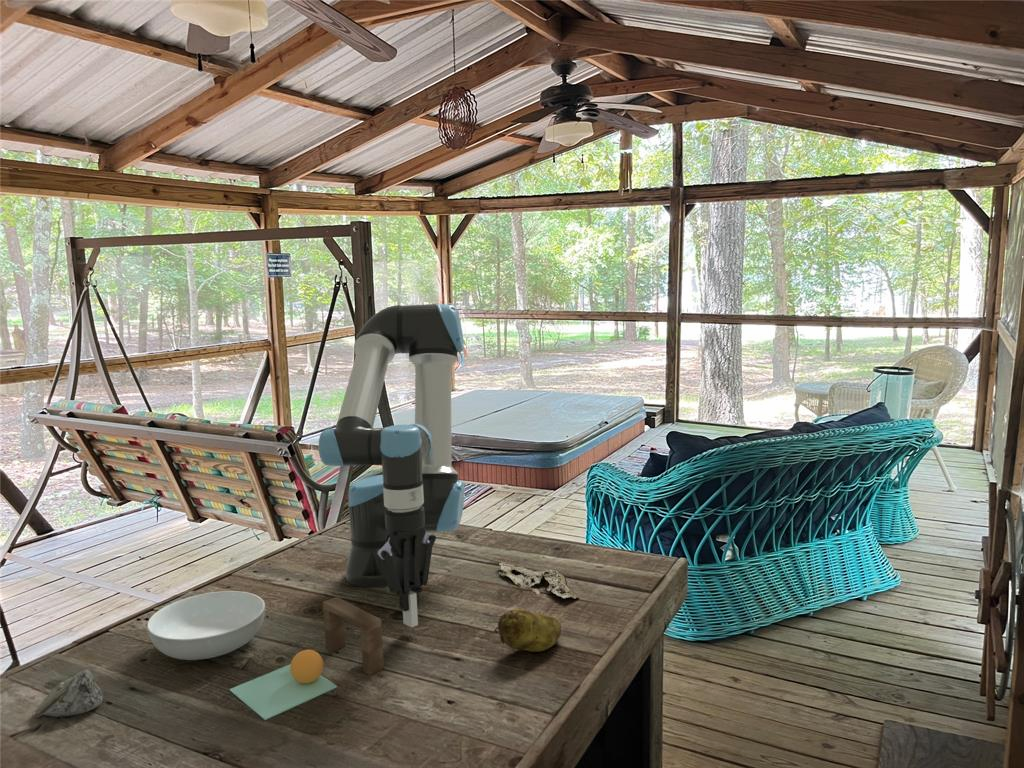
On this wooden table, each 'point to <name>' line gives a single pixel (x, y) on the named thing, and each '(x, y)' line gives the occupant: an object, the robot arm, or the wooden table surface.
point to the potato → (528, 630)
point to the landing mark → (279, 692)
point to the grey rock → (72, 697)
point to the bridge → (368, 624)
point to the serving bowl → (206, 624)
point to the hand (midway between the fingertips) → (410, 624)
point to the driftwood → (538, 579)
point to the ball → (306, 666)
